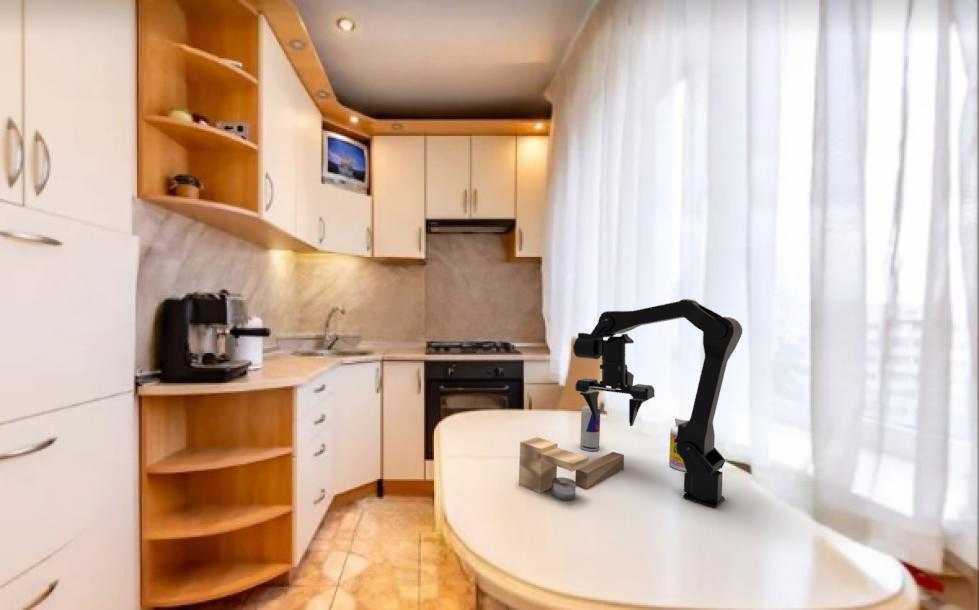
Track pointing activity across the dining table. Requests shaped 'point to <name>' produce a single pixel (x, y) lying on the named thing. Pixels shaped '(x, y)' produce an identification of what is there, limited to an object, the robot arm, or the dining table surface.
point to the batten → (599, 470)
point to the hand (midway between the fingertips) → (613, 422)
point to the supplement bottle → (674, 457)
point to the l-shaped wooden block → (545, 463)
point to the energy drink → (589, 430)
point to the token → (563, 489)
